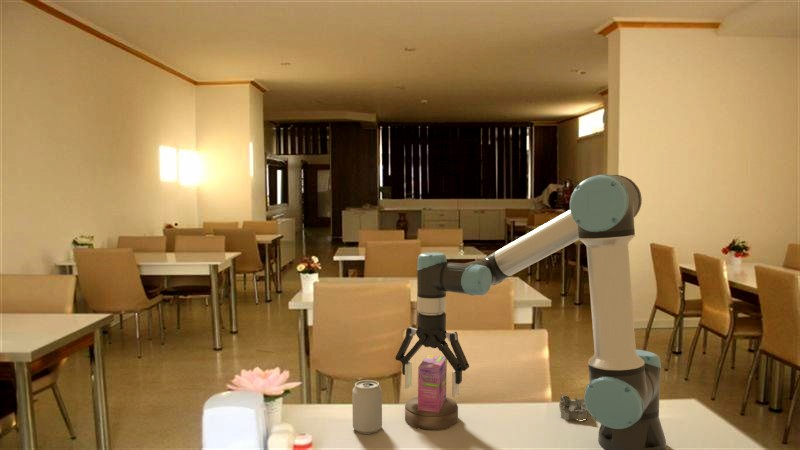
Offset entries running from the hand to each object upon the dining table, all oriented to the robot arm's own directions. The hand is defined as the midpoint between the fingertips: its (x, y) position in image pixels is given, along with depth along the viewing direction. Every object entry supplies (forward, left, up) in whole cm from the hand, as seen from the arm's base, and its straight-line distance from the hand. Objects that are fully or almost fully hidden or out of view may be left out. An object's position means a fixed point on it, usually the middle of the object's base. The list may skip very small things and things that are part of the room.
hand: (431, 391), depth 160 cm
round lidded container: (0, 0, -8) cm, 8 cm away
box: (0, 0, -4) cm, 4 cm away
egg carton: (-33, -21, -8) cm, 40 cm away
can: (+12, +13, -8) cm, 19 cm away
